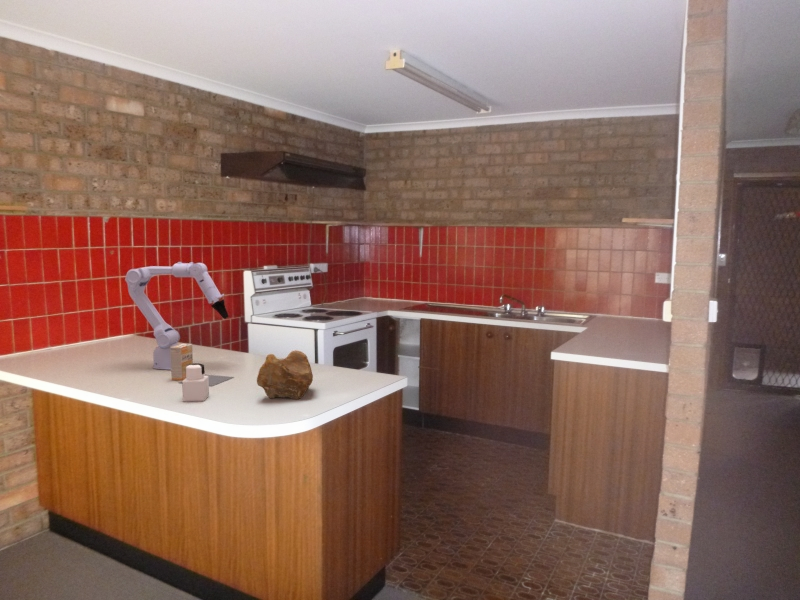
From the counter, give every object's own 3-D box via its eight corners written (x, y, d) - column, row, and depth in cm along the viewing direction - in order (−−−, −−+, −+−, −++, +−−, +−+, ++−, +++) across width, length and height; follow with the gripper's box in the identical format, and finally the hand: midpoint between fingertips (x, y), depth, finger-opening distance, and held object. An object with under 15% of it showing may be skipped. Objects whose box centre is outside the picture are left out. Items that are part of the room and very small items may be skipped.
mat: (178, 383, 221) (178, 382, 221) (201, 374, 234) (201, 374, 234) (211, 386, 217) (212, 385, 217) (233, 377, 230) (233, 377, 230)
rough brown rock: (288, 409, 191) (291, 365, 189) (249, 398, 199) (252, 355, 197) (328, 394, 212) (331, 354, 210) (291, 385, 219) (294, 346, 217)
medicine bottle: (188, 395, 204) (187, 362, 203) (209, 395, 205) (208, 361, 203) (182, 401, 197) (181, 366, 196) (204, 401, 198) (203, 366, 196)
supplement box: (182, 381, 224) (181, 347, 223) (171, 380, 225) (169, 347, 224) (194, 375, 232) (192, 343, 231) (183, 375, 233) (181, 343, 232)
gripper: (217, 283, 236) (234, 312, 237) (218, 286, 250) (235, 313, 251) (201, 291, 234) (219, 320, 235) (203, 294, 248) (220, 321, 249)
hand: (226, 317), depth 243 cm, fingers open, 7 cm apart
